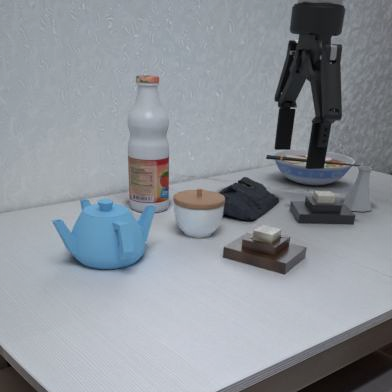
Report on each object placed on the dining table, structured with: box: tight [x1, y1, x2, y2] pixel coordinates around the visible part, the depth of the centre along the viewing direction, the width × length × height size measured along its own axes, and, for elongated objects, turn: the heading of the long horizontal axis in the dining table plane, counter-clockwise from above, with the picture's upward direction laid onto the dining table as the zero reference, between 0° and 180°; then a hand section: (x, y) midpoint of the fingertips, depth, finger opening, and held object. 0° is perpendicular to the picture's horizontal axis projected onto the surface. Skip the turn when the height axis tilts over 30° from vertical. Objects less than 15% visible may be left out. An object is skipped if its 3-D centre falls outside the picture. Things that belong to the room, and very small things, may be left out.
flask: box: [342, 165, 373, 213], centre depth 125 cm, size 7×7×10 cm
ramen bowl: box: [265, 148, 361, 187], centre depth 143 cm, size 25×23×8 cm
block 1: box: [222, 232, 308, 276], centre depth 97 cm, size 13×10×4 cm
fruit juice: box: [126, 74, 170, 214], centre depth 114 cm, size 9×9×28 cm
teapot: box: [51, 198, 156, 270], centre depth 92 cm, size 15×15×11 cm
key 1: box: [252, 224, 282, 244], centre depth 95 cm, size 4×4×2 cm
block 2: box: [289, 195, 356, 225], centre depth 119 cm, size 13×10×4 cm
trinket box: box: [172, 187, 225, 239], centre depth 105 cm, size 11×11×9 cm
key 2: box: [312, 190, 336, 204], centre depth 118 cm, size 4×4×2 cm
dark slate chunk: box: [218, 176, 280, 222], centre depth 124 cm, size 15×22×5 cm
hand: (297, 158), depth 83 cm, fingers open, 13 cm apart
